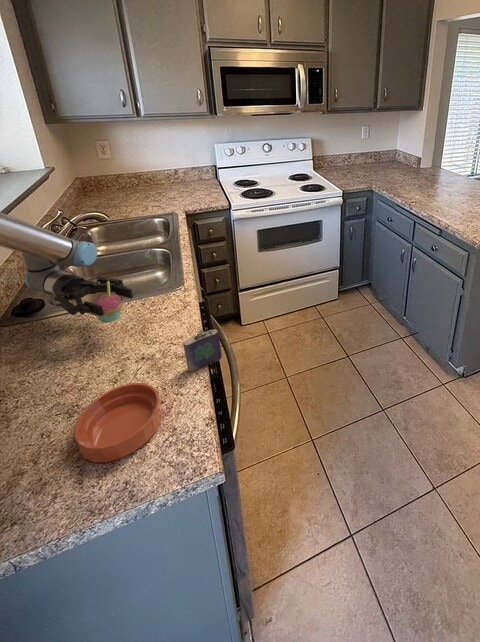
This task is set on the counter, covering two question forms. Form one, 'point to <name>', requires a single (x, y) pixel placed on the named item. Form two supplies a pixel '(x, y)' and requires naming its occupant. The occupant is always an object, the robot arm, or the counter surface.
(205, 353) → the flask
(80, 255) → the robot arm
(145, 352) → the counter surface
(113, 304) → the cupcake
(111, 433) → the bowl
